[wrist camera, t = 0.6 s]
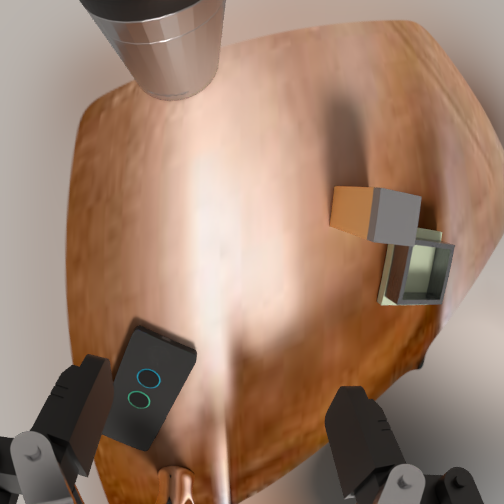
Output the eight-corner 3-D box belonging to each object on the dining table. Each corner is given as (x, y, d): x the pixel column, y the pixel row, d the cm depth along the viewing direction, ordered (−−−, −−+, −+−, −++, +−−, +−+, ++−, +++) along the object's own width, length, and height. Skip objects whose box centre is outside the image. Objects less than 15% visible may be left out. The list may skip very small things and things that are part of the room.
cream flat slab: (391, 223, 35) (396, 224, 34) (436, 230, 36) (442, 232, 35) (376, 301, 37) (381, 305, 36) (422, 301, 38) (427, 304, 37)
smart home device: (200, 357, 34) (147, 453, 36) (200, 350, 35) (149, 445, 38) (133, 327, 32) (95, 432, 34) (136, 321, 34) (98, 424, 36)
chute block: (334, 186, 33) (380, 187, 23) (369, 192, 34) (421, 196, 24) (329, 226, 34) (373, 242, 24) (364, 230, 34) (414, 246, 25)
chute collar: (396, 234, 34) (410, 238, 31) (440, 240, 35) (454, 245, 32) (384, 296, 35) (397, 304, 32) (428, 296, 36) (441, 304, 34)
